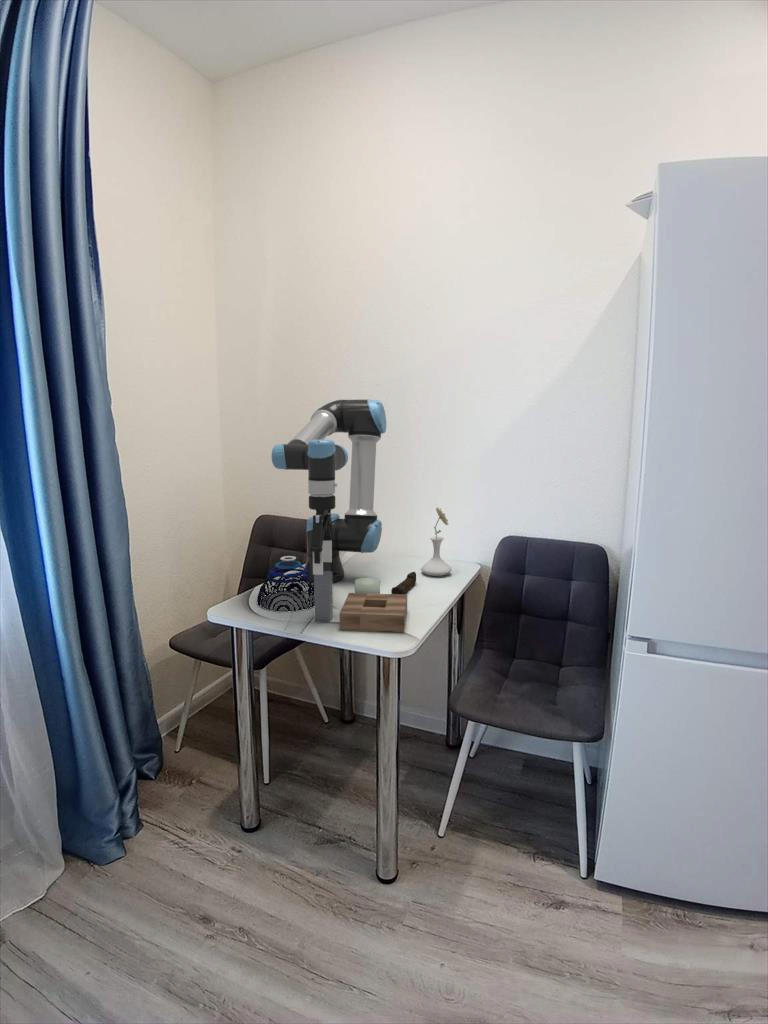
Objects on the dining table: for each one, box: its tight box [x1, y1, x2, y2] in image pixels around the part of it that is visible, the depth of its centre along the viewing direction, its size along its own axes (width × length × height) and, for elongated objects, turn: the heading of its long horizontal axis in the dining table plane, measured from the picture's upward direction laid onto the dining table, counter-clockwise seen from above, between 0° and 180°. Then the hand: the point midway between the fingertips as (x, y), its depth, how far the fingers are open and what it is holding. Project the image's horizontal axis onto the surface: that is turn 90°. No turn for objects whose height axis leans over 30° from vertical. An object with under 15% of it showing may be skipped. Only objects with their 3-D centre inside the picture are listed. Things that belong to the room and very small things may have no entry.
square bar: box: [313, 571, 334, 623], centre depth 167 cm, size 4×4×14 cm
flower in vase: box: [420, 506, 452, 577], centre depth 213 cm, size 13×11×25 cm
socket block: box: [339, 592, 408, 633], centre depth 167 cm, size 18×18×5 cm
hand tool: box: [390, 571, 417, 594], centre depth 195 cm, size 19×4×5 cm, turn 156°
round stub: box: [354, 577, 381, 594], centre depth 182 cm, size 8×8×7 cm
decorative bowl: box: [256, 555, 315, 612], centre depth 183 cm, size 20×20×14 cm
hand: (322, 567), depth 165 cm, fingers open, 13 cm apart
